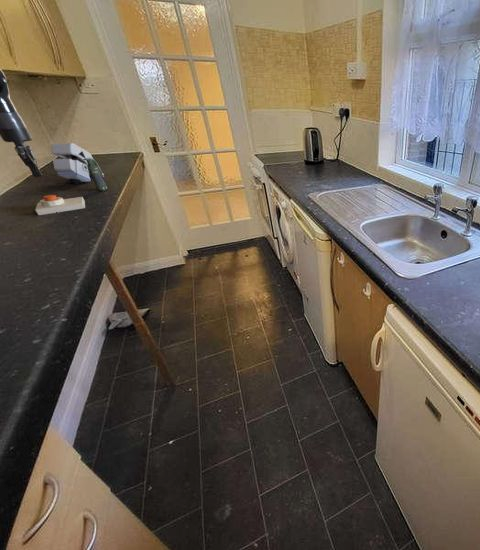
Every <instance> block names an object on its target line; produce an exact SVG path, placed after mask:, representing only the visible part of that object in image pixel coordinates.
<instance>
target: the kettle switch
mask: <svg viewBox="0 0 480 550" xmlns="http://www.w3.org/2000/svg"><path fill="white" fill-rule="evenodd" d="M57 197H58V196H57V195H56V194H49V195H44V196H43V199H45V201H53V200H57Z"/></svg>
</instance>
